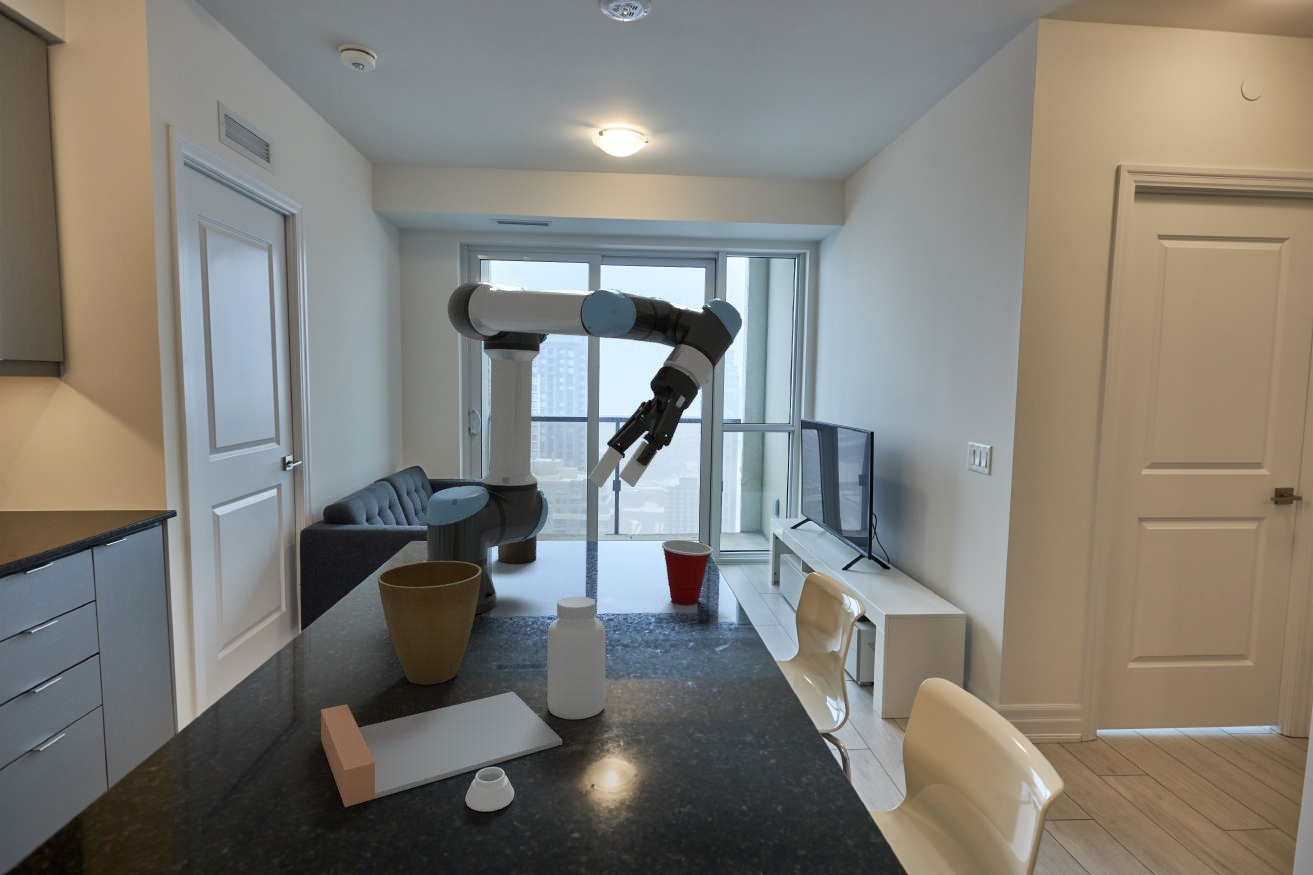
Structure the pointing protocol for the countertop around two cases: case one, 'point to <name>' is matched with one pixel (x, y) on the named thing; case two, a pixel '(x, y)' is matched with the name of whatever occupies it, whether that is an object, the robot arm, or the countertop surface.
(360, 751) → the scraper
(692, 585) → the plastic cup
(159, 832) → the countertop surface
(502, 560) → the pillar candle
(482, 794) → the lidless jar
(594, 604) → the pill bottle
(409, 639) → the plant pot
